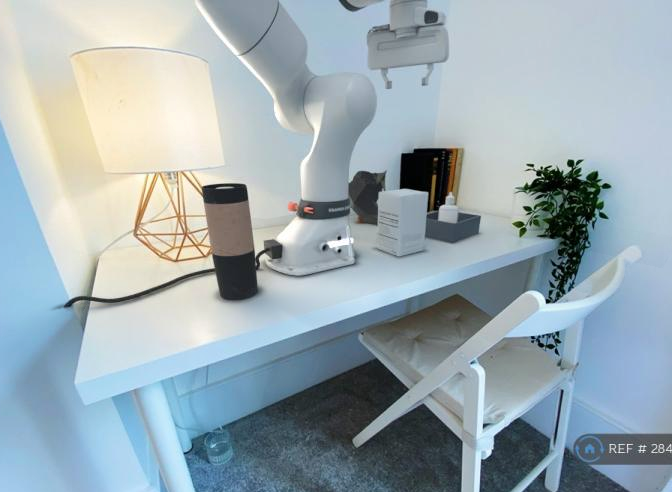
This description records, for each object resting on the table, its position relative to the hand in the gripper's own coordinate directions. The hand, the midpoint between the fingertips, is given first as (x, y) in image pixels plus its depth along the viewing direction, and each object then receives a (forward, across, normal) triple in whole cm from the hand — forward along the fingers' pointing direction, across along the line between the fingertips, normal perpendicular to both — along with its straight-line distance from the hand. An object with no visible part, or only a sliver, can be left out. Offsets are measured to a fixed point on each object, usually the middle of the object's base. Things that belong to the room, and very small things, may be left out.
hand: (406, 87), depth 89 cm
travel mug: (+33, -21, -57) cm, 69 cm away
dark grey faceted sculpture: (+40, -13, +8) cm, 43 cm away
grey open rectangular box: (+40, +13, 0) cm, 42 cm away
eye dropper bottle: (+40, +13, 0) cm, 42 cm away
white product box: (+37, +3, -20) cm, 43 cm away
